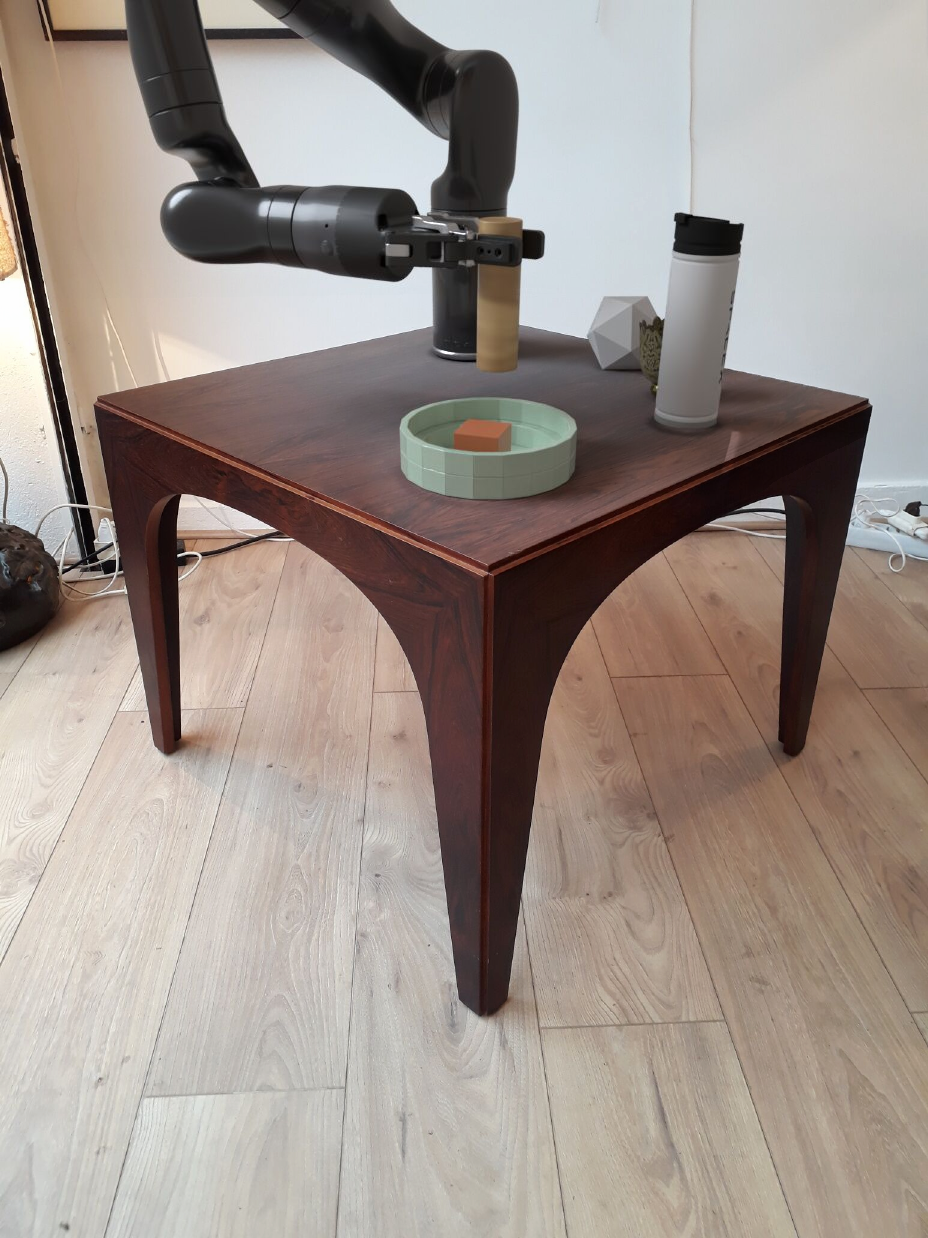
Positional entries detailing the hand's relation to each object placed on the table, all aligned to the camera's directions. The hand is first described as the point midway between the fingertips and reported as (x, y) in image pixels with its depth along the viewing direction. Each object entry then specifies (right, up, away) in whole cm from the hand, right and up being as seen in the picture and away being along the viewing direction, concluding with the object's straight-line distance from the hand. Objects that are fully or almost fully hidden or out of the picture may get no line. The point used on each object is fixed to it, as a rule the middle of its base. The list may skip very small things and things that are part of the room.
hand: (531, 248), depth 74 cm
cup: (+17, -5, +28) cm, 33 cm away
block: (-4, -17, +7) cm, 19 cm away
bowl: (-3, -17, +8) cm, 19 cm away
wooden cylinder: (-3, -8, +6) cm, 10 cm away
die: (+14, +1, +39) cm, 41 cm away
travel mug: (+17, -10, +20) cm, 28 cm away
